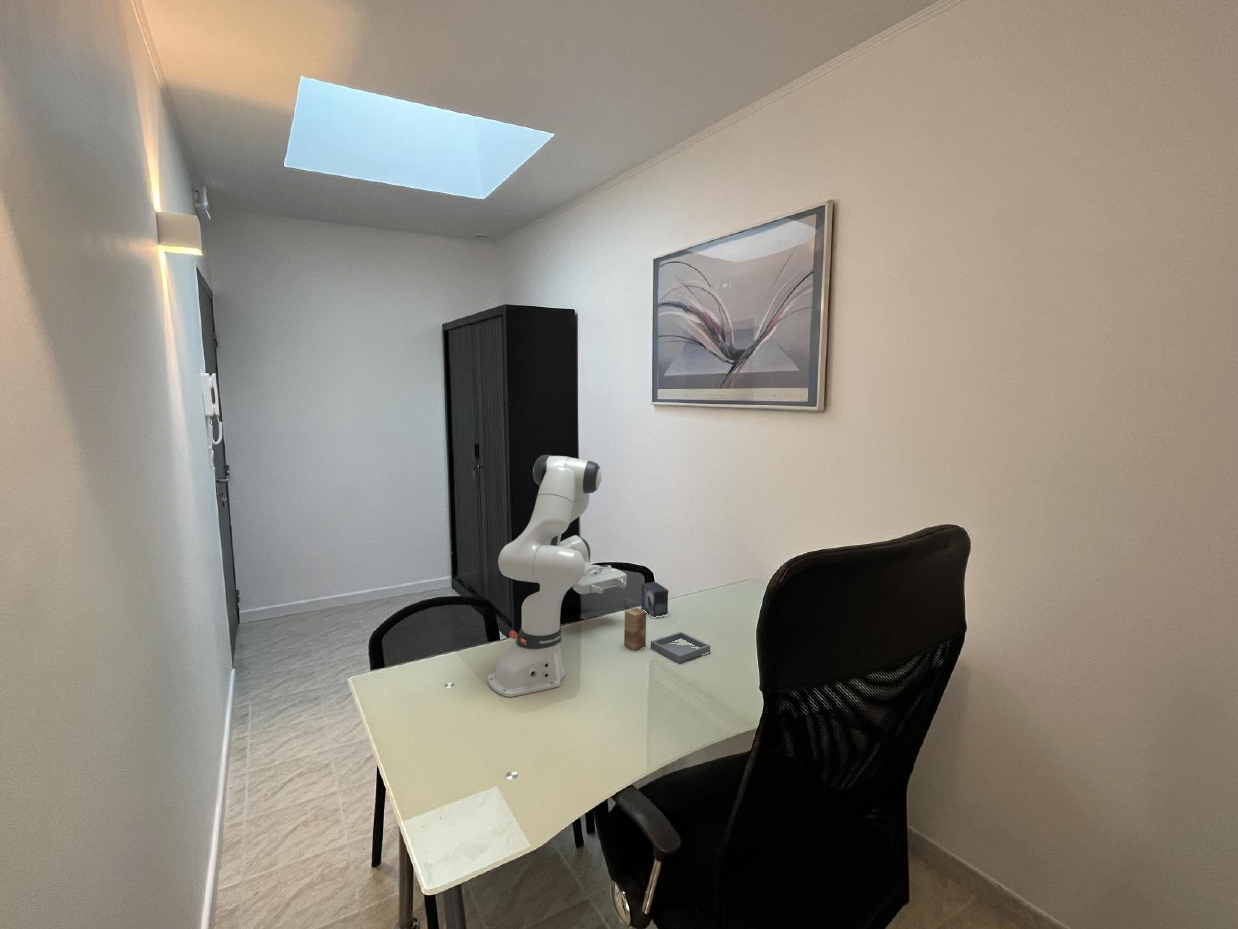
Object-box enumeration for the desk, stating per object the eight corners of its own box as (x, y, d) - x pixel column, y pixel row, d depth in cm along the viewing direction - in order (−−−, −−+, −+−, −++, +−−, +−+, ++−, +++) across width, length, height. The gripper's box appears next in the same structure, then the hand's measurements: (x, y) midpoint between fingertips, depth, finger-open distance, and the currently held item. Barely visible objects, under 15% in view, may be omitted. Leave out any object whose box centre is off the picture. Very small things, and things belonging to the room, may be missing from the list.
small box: (639, 609, 229) (640, 583, 228) (654, 607, 232) (655, 581, 231) (652, 619, 220) (653, 591, 219) (668, 616, 223) (669, 589, 221)
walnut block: (633, 651, 192) (634, 615, 191) (624, 645, 196) (624, 610, 195) (645, 647, 195) (646, 612, 194) (635, 642, 199) (636, 607, 198)
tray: (679, 664, 184) (679, 656, 184) (650, 648, 195) (650, 641, 194) (710, 653, 192) (710, 645, 192) (680, 638, 203) (681, 631, 203)
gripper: (566, 574, 208) (588, 585, 197) (612, 564, 220) (636, 574, 209) (565, 591, 209) (588, 603, 198) (612, 580, 221) (636, 591, 210)
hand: (613, 588), depth 204 cm, fingers open, 8 cm apart
